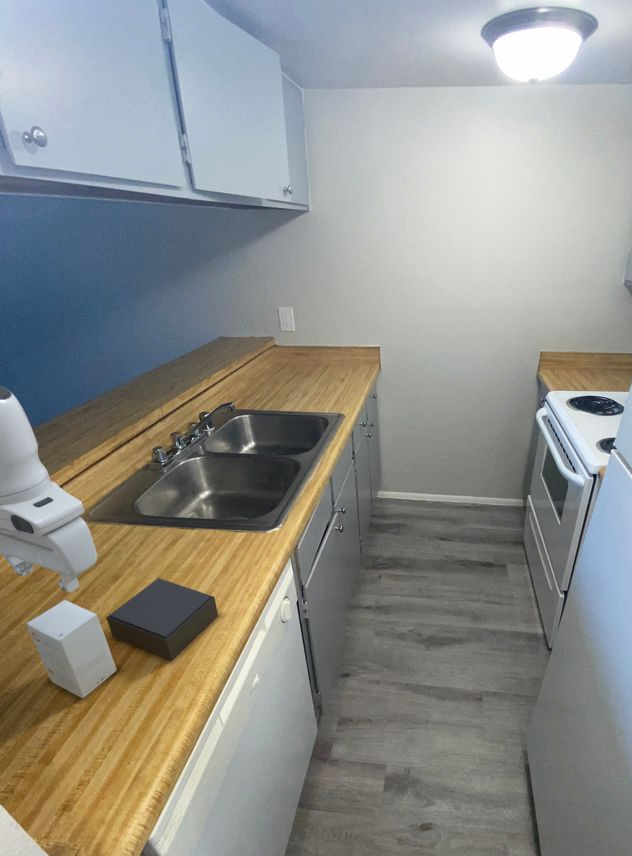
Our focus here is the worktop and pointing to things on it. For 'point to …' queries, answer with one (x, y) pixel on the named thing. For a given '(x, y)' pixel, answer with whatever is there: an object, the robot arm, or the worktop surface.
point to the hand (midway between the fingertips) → (47, 580)
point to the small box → (72, 647)
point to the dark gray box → (163, 618)
